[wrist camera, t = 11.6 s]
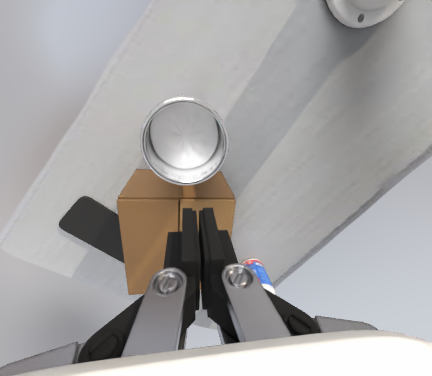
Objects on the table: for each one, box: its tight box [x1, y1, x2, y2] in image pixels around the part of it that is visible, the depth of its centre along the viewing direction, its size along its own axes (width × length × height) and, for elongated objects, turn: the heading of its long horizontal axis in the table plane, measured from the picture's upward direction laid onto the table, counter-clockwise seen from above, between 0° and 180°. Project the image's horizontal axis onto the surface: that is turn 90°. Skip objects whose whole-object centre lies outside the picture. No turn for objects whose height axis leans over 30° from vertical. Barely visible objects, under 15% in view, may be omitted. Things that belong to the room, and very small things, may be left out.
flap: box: [180, 199, 236, 289], centre depth 25 cm, size 6×14×1 cm, turn 175°
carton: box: [117, 169, 235, 295], centre depth 29 cm, size 13×14×10 cm
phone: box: [59, 196, 125, 263], centre depth 34 cm, size 7×1×15 cm
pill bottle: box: [241, 259, 275, 294], centre depth 37 cm, size 6×5×10 cm
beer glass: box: [140, 95, 228, 185], centre depth 22 cm, size 7×7×15 cm
